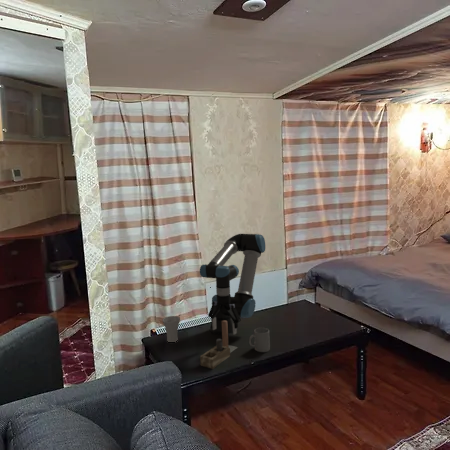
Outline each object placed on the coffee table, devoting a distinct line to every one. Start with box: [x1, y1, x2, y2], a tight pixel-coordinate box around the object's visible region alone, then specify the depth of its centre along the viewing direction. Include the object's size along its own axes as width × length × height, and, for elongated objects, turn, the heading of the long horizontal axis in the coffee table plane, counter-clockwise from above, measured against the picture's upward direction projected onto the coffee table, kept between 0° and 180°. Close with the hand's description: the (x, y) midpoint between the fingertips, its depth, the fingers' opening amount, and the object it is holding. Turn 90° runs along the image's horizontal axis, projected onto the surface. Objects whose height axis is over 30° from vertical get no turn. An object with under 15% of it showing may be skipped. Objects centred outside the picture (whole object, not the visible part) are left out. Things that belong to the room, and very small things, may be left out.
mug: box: [248, 327, 271, 353], centre depth 229 cm, size 12×8×11 cm
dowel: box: [221, 320, 229, 347], centre depth 231 cm, size 3×3×16 cm
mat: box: [222, 343, 239, 354], centre depth 232 cm, size 10×10×1 cm
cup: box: [162, 315, 181, 343], centre depth 245 cm, size 10×10×14 cm
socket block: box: [199, 338, 231, 370], centre depth 218 cm, size 8×16×10 cm, turn 146°
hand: (224, 331), depth 230 cm, fingers open, 13 cm apart
